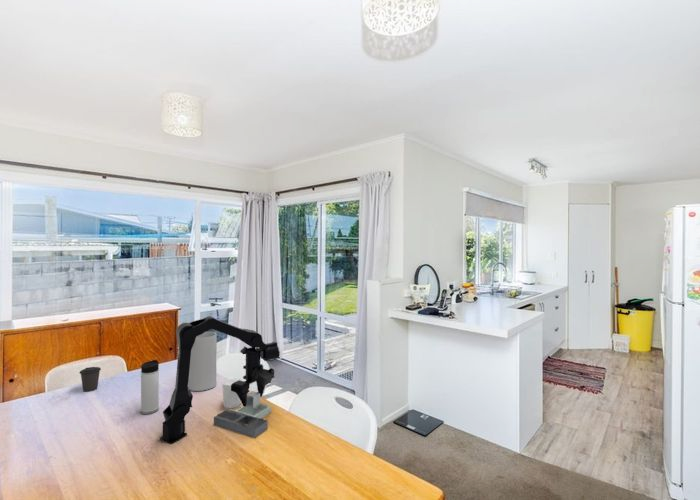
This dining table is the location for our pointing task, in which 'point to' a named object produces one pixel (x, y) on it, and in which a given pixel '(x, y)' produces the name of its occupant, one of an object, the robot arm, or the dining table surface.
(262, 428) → the rail
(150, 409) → the travel mug
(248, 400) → the brushed aluminium bar
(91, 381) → the coffee cup
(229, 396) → the white cup
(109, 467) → the dining table surface
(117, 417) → the dining table surface
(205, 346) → the cylinder vase
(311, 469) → the dining table surface
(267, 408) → the parts tray
